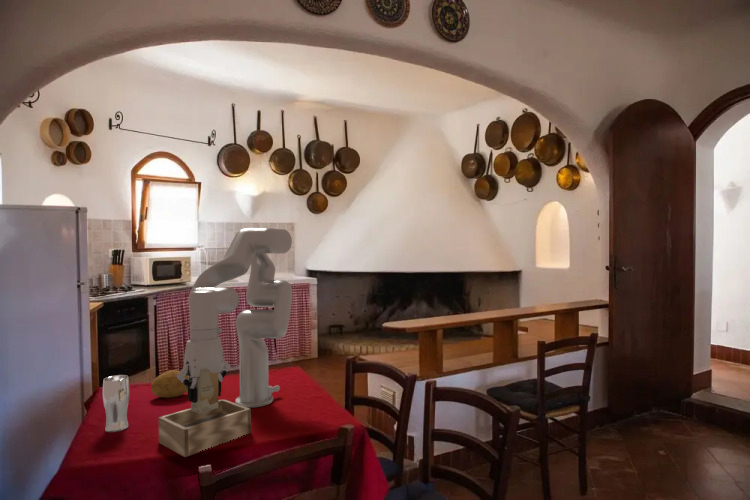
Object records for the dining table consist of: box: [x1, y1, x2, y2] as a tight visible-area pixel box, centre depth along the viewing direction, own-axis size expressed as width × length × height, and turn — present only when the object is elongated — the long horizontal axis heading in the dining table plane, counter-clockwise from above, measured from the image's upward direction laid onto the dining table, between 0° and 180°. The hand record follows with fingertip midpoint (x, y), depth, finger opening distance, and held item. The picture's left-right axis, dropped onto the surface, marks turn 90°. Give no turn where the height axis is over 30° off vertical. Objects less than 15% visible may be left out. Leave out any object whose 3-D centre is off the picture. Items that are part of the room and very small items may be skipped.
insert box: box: [158, 398, 252, 458], centre depth 136 cm, size 20×14×7 cm
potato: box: [150, 369, 189, 399], centre depth 173 cm, size 10×13×9 cm
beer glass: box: [102, 374, 130, 433], centre depth 144 cm, size 7×7×15 cm
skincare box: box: [190, 368, 219, 413], centre depth 136 cm, size 6×4×12 cm
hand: (204, 397), depth 136 cm, fingers closed on skincare box, 6 cm apart
